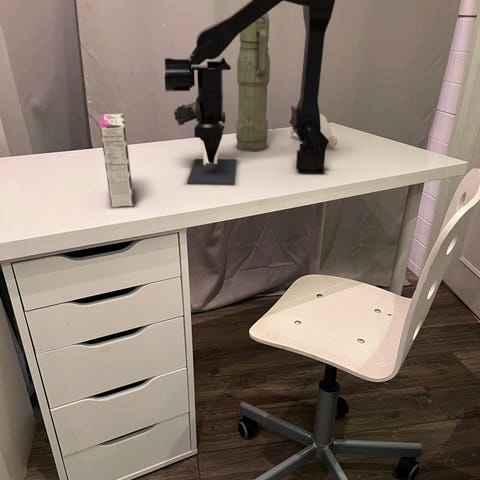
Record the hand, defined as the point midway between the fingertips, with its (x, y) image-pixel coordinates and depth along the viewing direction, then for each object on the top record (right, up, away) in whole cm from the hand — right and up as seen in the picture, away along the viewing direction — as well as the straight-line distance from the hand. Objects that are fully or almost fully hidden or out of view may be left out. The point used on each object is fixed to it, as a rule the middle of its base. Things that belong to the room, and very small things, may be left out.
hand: (211, 159), depth 128 cm
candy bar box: (-19, -14, -16) cm, 28 cm away
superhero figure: (+30, +13, +28) cm, 43 cm away
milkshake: (0, -2, +2) cm, 3 cm away
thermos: (+10, +10, +23) cm, 27 cm away
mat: (0, -3, +2) cm, 3 cm away
